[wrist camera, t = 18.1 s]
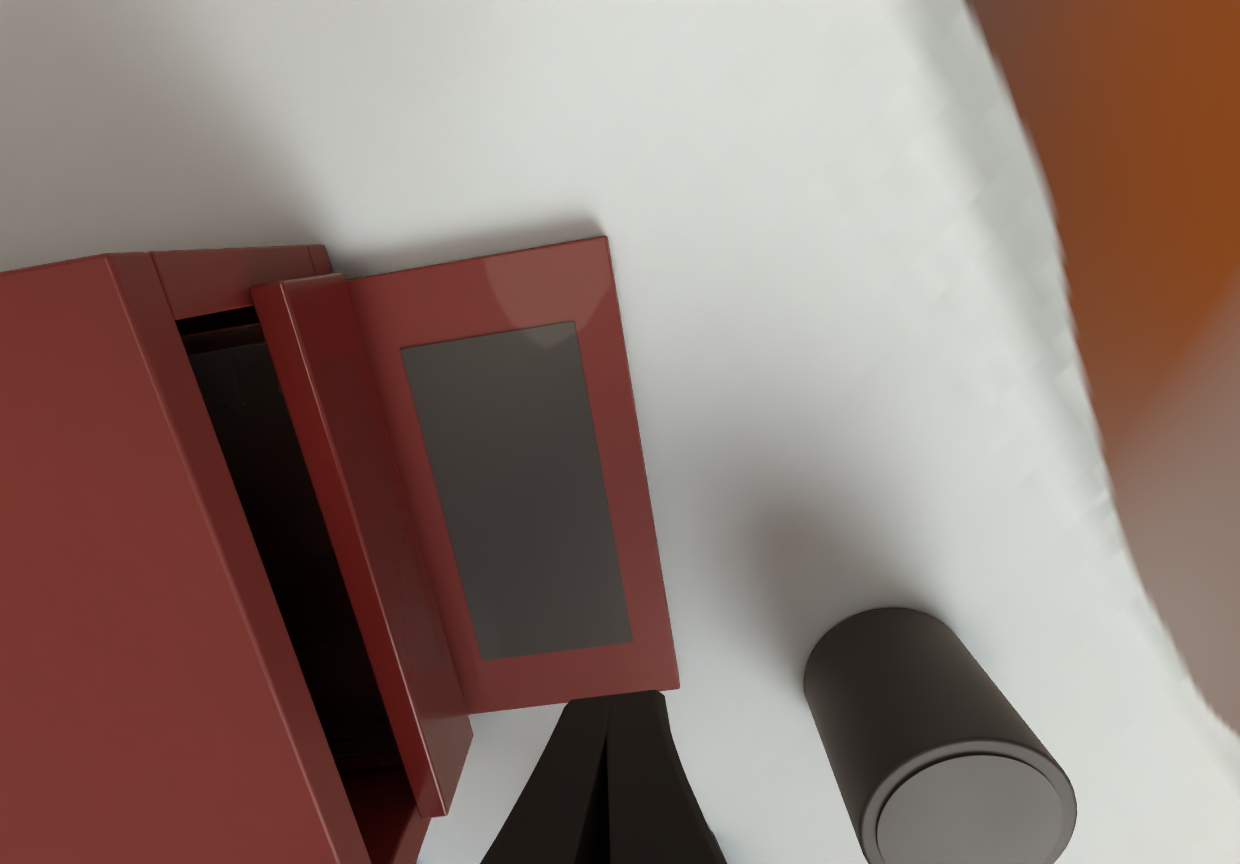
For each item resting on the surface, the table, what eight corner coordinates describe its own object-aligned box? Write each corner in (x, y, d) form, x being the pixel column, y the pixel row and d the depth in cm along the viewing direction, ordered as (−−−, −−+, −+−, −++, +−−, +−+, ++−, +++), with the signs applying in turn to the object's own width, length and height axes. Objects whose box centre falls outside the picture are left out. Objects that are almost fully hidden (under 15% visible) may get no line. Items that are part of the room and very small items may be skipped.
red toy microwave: (600, 195, 17) (571, 164, 9) (683, 702, 21) (709, 968, 14) (-148, 327, 18) (-721, 397, 11) (80, 774, 23) (-203, 1051, 15)
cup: (967, 732, 22) (1075, 896, 16) (809, 750, 22) (865, 917, 17) (966, 597, 20) (1086, 729, 15) (797, 617, 20) (854, 754, 15)
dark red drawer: (344, 271, 16) (282, 280, 13) (474, 734, 20) (448, 817, 18) (-135, 354, 17) (-289, 379, 14) (82, 781, 21) (-3, 866, 18)
